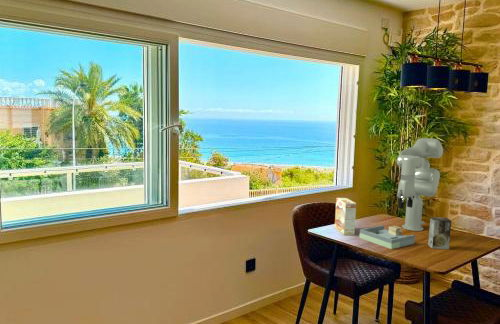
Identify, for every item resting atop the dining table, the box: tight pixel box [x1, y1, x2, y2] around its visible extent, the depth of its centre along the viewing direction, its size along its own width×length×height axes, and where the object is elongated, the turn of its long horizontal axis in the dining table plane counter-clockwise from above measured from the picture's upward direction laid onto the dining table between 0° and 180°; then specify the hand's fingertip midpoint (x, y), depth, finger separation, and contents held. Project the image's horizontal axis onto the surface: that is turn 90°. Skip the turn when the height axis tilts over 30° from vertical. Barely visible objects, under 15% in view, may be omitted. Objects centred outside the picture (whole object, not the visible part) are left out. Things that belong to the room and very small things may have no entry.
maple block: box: [388, 225, 403, 236], centre depth 228 cm, size 5×5×4 cm
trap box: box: [359, 224, 416, 250], centre depth 225 cm, size 20×22×5 cm
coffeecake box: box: [334, 197, 357, 236], centre depth 239 cm, size 15×7×20 cm, turn 9°
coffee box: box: [427, 216, 452, 250], centre depth 216 cm, size 9×6×16 cm
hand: (405, 207), depth 231 cm, fingers open, 7 cm apart
